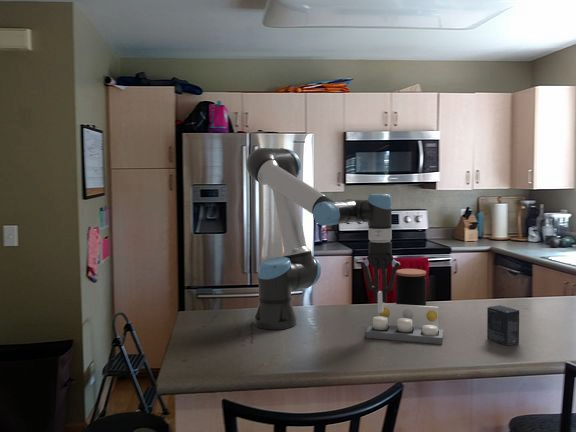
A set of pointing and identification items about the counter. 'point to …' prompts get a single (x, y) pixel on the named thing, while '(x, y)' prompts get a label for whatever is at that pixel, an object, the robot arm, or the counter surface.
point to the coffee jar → (411, 287)
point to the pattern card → (411, 314)
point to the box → (503, 325)
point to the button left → (380, 323)
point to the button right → (430, 330)
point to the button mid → (404, 324)
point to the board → (404, 335)
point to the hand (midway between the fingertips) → (380, 311)
